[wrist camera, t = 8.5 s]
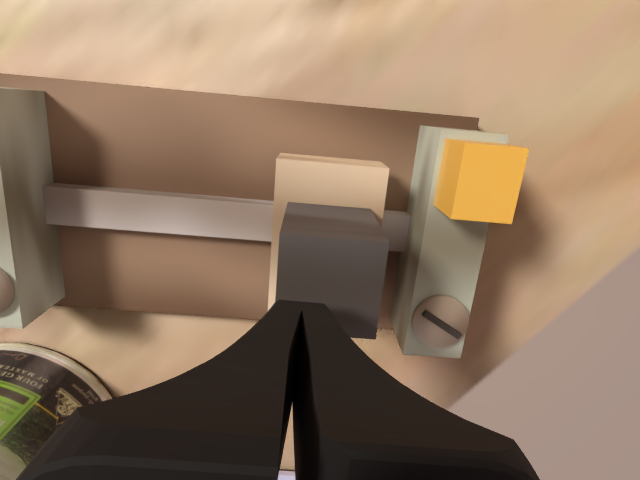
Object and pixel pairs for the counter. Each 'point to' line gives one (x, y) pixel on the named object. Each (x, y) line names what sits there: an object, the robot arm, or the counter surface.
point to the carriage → (330, 237)
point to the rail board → (211, 203)
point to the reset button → (480, 180)
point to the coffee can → (38, 400)
